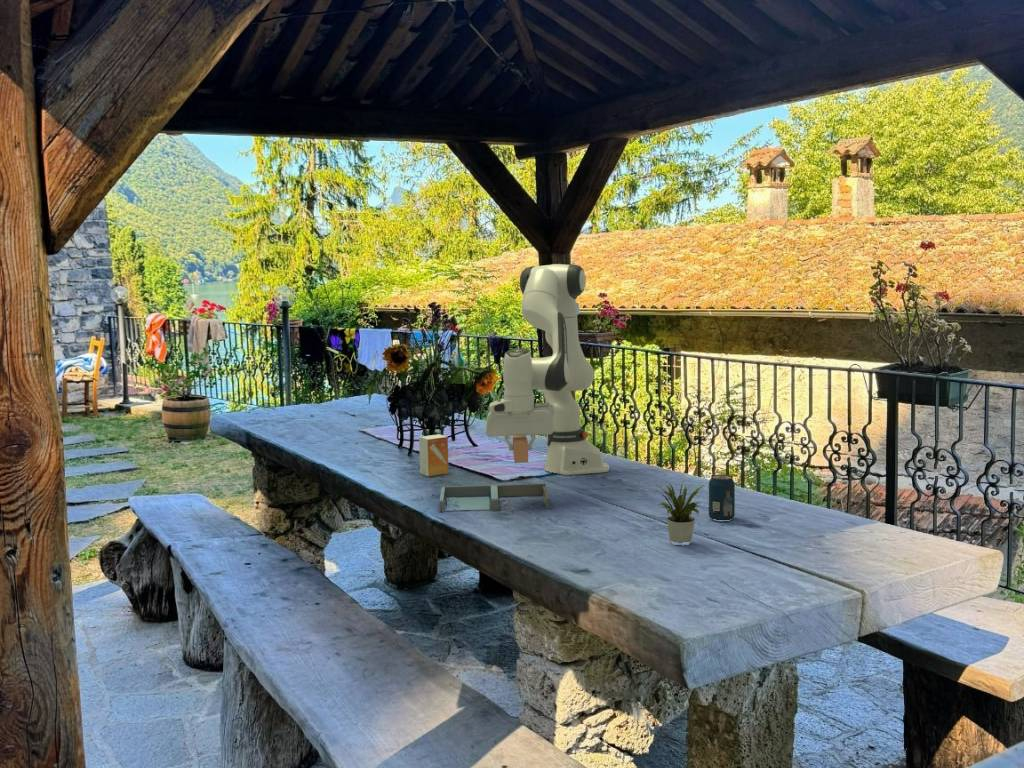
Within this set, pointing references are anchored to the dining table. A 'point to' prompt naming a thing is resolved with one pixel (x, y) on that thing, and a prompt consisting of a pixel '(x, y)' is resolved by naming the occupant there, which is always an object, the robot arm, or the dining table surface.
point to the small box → (433, 455)
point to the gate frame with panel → (489, 495)
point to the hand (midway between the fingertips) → (520, 449)
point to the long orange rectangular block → (520, 449)
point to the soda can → (721, 497)
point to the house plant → (680, 515)
